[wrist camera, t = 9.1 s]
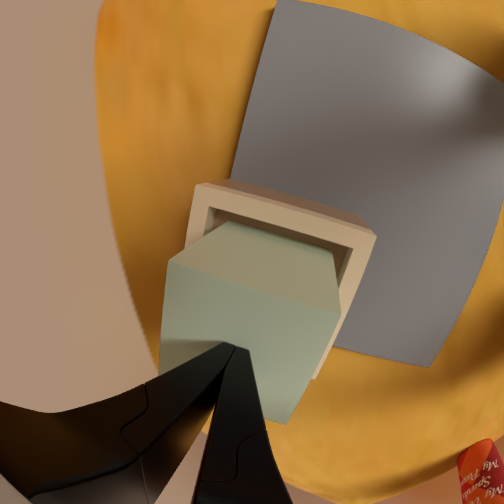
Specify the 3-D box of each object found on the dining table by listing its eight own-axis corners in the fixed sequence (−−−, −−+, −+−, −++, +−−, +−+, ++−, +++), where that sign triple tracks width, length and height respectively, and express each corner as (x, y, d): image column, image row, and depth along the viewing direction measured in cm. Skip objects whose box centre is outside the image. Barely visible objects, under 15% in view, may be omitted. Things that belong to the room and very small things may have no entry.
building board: (511, 95, 11) (560, 83, 5) (425, 360, 19) (447, 414, 13) (280, 5, 14) (263, -47, 8) (208, 299, 21) (171, 346, 15)
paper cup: (482, 430, 19) (509, 519, 6) (507, 435, 19) (532, 509, 6) (438, 466, 22) (450, 551, 9) (467, 468, 21) (481, 540, 8)
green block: (332, 250, 13) (341, 314, 7) (299, 337, 15) (286, 424, 9) (229, 220, 14) (168, 260, 8) (210, 309, 15) (158, 380, 10)
